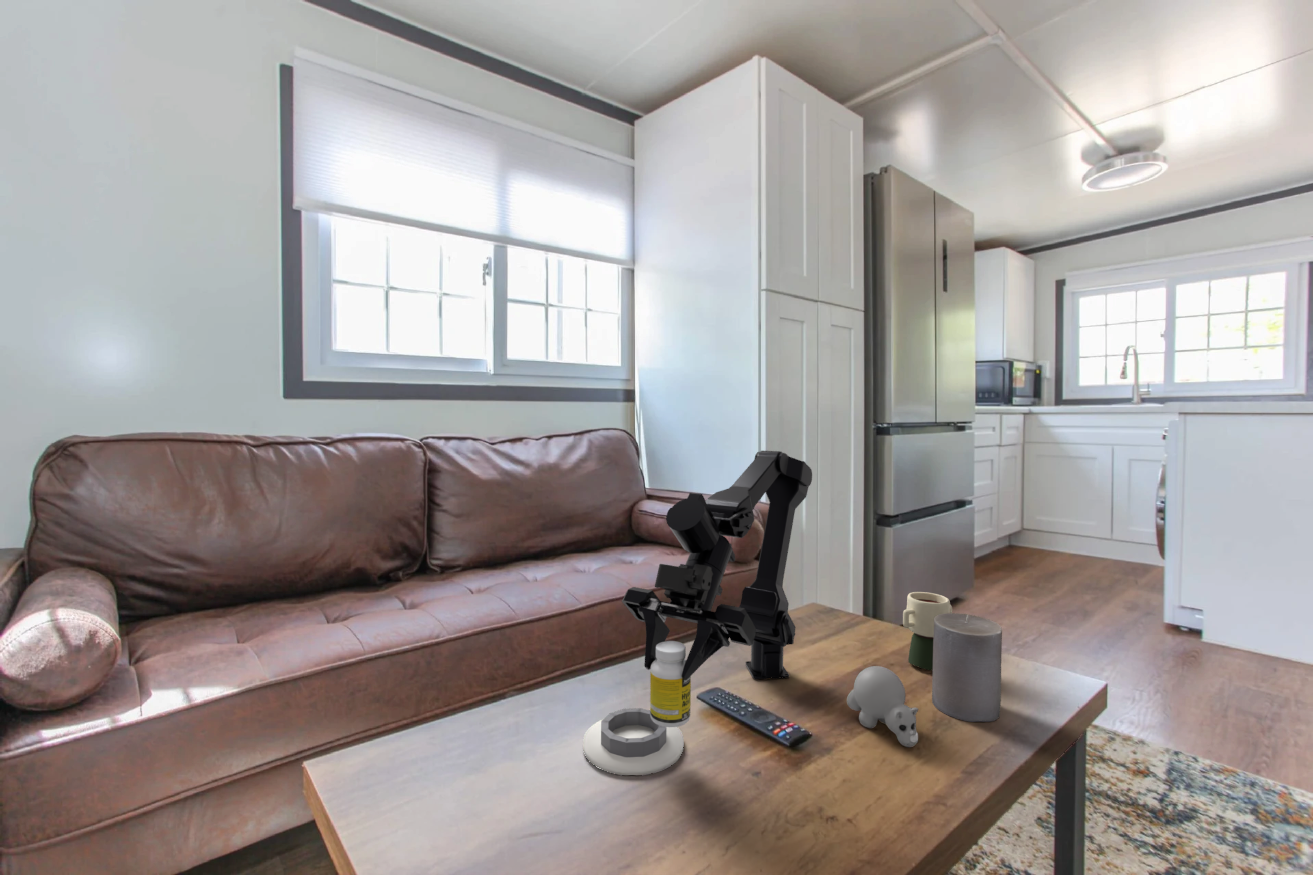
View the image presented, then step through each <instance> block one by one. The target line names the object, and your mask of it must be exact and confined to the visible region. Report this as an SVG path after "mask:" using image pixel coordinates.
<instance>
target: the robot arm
mask: <svg viewBox="0 0 1313 875" xmlns="http://www.w3.org/2000/svg"><path fill="white" fill-rule="evenodd" d="M754 455H755V456H754V459H753V461H751V463H750V464H749V466H747V467H746V469H745V470H744V471H743V472H742V473H741V475H739V477H738V478H737V479H736V481H735V482H733V484H731V486H729V487H728V488H726V489H722V490H719V491H716V492H715V493H714V494H712V495H710V496H709V497H708V498H705V497H704V495H703V493H698V492H697V493H696V492H689V494H688V496H687V498H684V499H681V500H679V501H677V502H676V503H675V504H674V505H673V506H672V507H670V508H669V509H668V510H667V513H666V515H665V516H666V519H665V520H666V524H667V526H668V527H669V529H670V530H671V532H672V534H673V535H674V536H675V537H676V539H677V541H678V542H679V544H680V545H681V546H682V549H684V551H686V552H688V553H689V555H688V557H687V560H686V563H685V564H683V563H680V564H679V565H678V566H677V565H676V566H675V565H671V564H667V563H666V564H665V563H659V565H658V569H657V570H658V571H657V573H656V574H657V575H656V577H655V578H656V579H655V583H654V588H656V589H659V588H660V589H664V593H663V594H664V596H665V597H666V598H667V599H669V600H670V601H662V600H660V598H659V597H658V596H657V594H656V593H655V591H654V590H652V589H646V588H642V587H636V586H633V587H630V588H628V589H627V590H626V592H625V594H624V595H623V596H624V597H623V598H622V600H621V602H622V604H623V605H624V606H625V607H626V608H627V610H628V611H629V612H630V613H631V615H632V616H633V617H634V618H635V619H636V620H638V621H640V622H642V623H644V624H645V651H644V652H645V653H644V663H643V664H644V668H645V669H646V670H648V671H649V670H650V671H651V664H652V663H653V661H654V660H656V659H657V658H656V645H657V644H659V643H661V642H664V641H667V638H668V637H669V636H668V635H669V633H670V631H671V630H670V628H669V627H668V626H667V625H666V620H667V618H671V619H676V620H679V621H680V620H681V621H685V622H689V623H694V624H697V625H696V634H695V638H694V640H693V642H692V645H691V647H690V650H689V653H688V655H687V658H686V659H685V660H686V662H685V665H684V669H683V672H682V678H683V679H684V680H687V679H688V678H689V677H690V676H692V675H694V674H695V672H696V671H697V670H698V669H700V668H701V666H702V665H703V664H704V663H705V662H706V661H707V660H708V659H710V658H711V656H712V657H713V655H714V654H715V653H717V652H718V651H719V650H720V649H721V648H723V647H730V645H731V642H732V643H736V644H739V645H743V646H748V647H750V660H749V661H745V666H746V668H747V670H748V672H749V674H750V675H751V677H752V679H754V680H771V679H776V680H777V679H790V674H789V672H788V671H787V669H786V668H785V666H784V647H786V646H787V645H794V643H795V642H794V640H795V635H796V629H797V628H796V625H795V624H794V621H793V619H792V618H791V615H790V613H789V606H790V605H789V600H788V598H787V596H786V593H785V591H784V587H783V584H784V577H785V573H786V572H785V571H786V567H787V566H786V565H787V559H788V553H789V547H790V543H791V537H792V530H793V524H794V520H795V519H794V518H795V512H796V509H797V508H798V507H799V506H800V504H801V503H803V501H804V500H805V499H806V498H807V495H808V490H809V487H810V486H811V485H812V481H813V471H812V468H811V467H810V466H809V465H808V464H807V463H806V461H804V460H800V459H797V458H795V457H792V456H789V455H788V454H787V453H785V452H782V451H780V450H778V451H777V450H760V451H757V452H756V454H754ZM765 494H766V496H767V499H768V501H769V505H768V510H767V515H766V522H765V527H764V531H763V532H764V533H763V538H762V542H761V548H760V553H759V554H760V555H759V559H758V565H757V571H756V574H755V575H756V576H755V580H754V581H753V582H752V583H751V584H750V585H749V586H745V587H744V588H743V589H742V592H741V599H740V605H739V606H734V605H728V604H723V603H720V604H719V605H718V606H716V608H715V611H712V608H713V606H714V603H715V600H716V597H717V596H720V597H721V595H722V593H723V590H724V589H723V588H722V586H721V583H722V581H723V578H724V574H725V572H726V570H727V566H728V564H729V562H731V563H732V562H735V561H736V554H735V552H734V549H733V546H732V543H730V541H729V540H728V539H727V538H726V537H730V538H738V539H743V538H744V537H745V536H746V535H747V534H748V532H749V531H750V530H751V528H752V525H753V523H754V521H755V515H754V509H755V508H756V505H757V504H758V503H759V502H760V500H761V499H762V498H763V497H764V495H765Z"/></svg>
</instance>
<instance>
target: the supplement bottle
mask: <svg viewBox="0 0 1313 875" xmlns="http://www.w3.org/2000/svg"><path fill="white" fill-rule="evenodd" d="M686 650H687V648H686V645H685V644H684V643H682V642H680V641H675V640H665V641H664V642H661V643H659V644H657V645H656V660H654V661H653V663H652V664H651V669H650V676H649V677H650V680H649V681H650V690H649V691H650V693H649V695H650V701H649V702H650V704H649V710H650V716H651V719H652V721H653V722H654V723H656V724H657V725H660V726H663V727H678V728H679V727H682V726H684V725H686V724H687V723H688V722H689V721H690V719H691V707H692V706H691V704H692V703H691V702H692V701H691V699H692V698H691V697H692V696H691V695H692V694H691V691H692V690H691V688H692V686H691V685H692V684H691V682H692V680H691V678H692V677H691V676H692V675H691V676H690V677H689V678H688V679H687V680H684V679H683V678H682V672H683V669H684V665H685V662H686V660H687V659H686V655H687V654H686V653H687V652H686Z"/></svg>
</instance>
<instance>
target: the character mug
mask: <svg viewBox="0 0 1313 875" xmlns="http://www.w3.org/2000/svg"><path fill="white" fill-rule="evenodd" d="M906 600H907V601H906V609H904V610H903V612H902V625H903V627H904V628H908V630H909V631H911V633H912V635H911V639H910V644H909V650H908V660H907V661H908V664H911V665H913V666H915V667H918V668H919V669H923V670H927V671H932V672H933V637H934V618H935V617H936V616H937V615H939V614H945V613H953V606H952V605H951V602H950V599H949V598H948V597H946V596H944V595H941V594H939V593H933V592H926V591H925V592H924V591H913V592H909V593H908V594H907V597H906Z"/></svg>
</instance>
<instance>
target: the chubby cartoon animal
mask: <svg viewBox="0 0 1313 875" xmlns="http://www.w3.org/2000/svg"><path fill="white" fill-rule="evenodd" d="M905 703H906V690H905V685H904V684H903V682H902V680H901V679H900V677H899V675H897V674H896V673H895V672H894V671H893V670H891V669H889V668H886V667H884V666H881V665H873V666H872V665H871V666H868V667H866V668H864V669H862V670H861V671H860V672H859V673H858V675H856V678H855V680H854V684H853V689H851V691H850V692H849V693H848V695H847V697H846V704H847V706H848V708H850V709H851V710H852V711H857V712H859V711H860V712H859V714H858V720H859V723H860V724H861V725H862V726H863V727H864V728H868V729H873V728H875V727H876V726H877V725H878V721H879V722H881V723H882V724H884V725H886V727H887V728H888V729H889V730H890V731H891V732H892V733H893V734H895V736H896V739H897V740H898V742H899V743H900V745H902V746H904V747H906V748H912V747H914V746H915V745H916V744H917V743H919V733H918V732H917V717H916V715H917V713H918V711H919V708H918V707H910V706H908V705H906V704H905Z"/></svg>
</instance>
